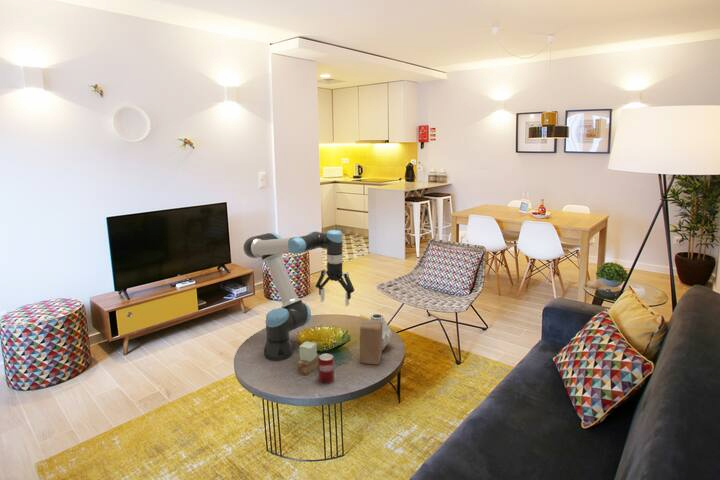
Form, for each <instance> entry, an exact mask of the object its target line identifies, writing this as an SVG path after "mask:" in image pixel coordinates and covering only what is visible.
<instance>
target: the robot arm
mask: <svg viewBox="0 0 720 480" xmlns="http://www.w3.org/2000/svg"><path fill="white" fill-rule="evenodd" d="M342 232H343V231H340V230H339V229H337V230H336V229H330V230H328V231H326V232H320V231H313V230H311V231H310V232H309V233H308V234H305V235H301V236H294V237H283V238H282V237H281V236H280V235H279V234H278V233H276V232H267V233H263V234H259V235H253V236H251V237H248V238H247V239H246V240H245V241H244V243H243V247H242V248H243V252H244V254H245V255H246V257H248V258H251V259H258V258H260V259H261V260H262V262H264V263H266V265H267V268H268V270H269V272H270V275H271V278H272V280H273V283H274V285H275V288H276V290H277V293H278V295H279V297H280V301H281V302H282V305H281V307H279V308H274V309H271V310H270V311H268V312H267V313H266V314H265V315H266V316H265V329H266V330H265V332H266V334H265V335H266V342H265V345H264V348H263V357H264V358H266V359H267V360H270V361H282V360H286V359H289V358H291V357H292V355H293V354H294V348H293V346H292V343H291V340H290V333H291V331H295V330H296V329H298V328H301V327H303V326H304V325H306V324H308V323H309V322H310V320H311V318H312V317H311V316H312V312H311V309H310V306H309V305H308V304H307V303H305V302H303V300H302V299H301V298H299V297H298V295H297V293H296V291H295V287H294V285H293V283H292V281H291V278H290V275H289V273H288V271H287V269H286V266H285V263H284V260H283V257H282V256H283V254H284V255H285V254H293V255H298V254H302V253H305V252H310V251H312V250H316V249H324V250H326V261H327V263H326V269H321V271H320V276H319V278H318V280H317V282H316V284H315V288H316V289H318V295H319V296H320V302H321V303H323V302H325V288H324V287H325V286H326V284H328V282H329V281H332V282H333V281H334V282H338V283H340V285H341V287H342V288H343V289H344V290H345V306H344V307H348V306H349V305H350V299H351V298H352V293H354V292H355V287H354V286H353V283H352V281H351V279H350V277H349V276H350V275H349V272H343V240H344V239H343V233H342ZM326 275H327V278H325V276H326ZM324 278H325V280H324ZM323 280H324V281H323Z"/></svg>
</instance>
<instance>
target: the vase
mask: <svg viewBox="0 0 720 480" xmlns="http://www.w3.org/2000/svg"><path fill="white" fill-rule="evenodd" d="M368 320H371V321H381V322H382V351H384V349H385V348H386V346H387V345H388V343H389V342H390V339H391V337H392V336H393V333H392V330H391V328H389V326H388V323H387V321H386V320H385V318H384V315H382V314H380V313H375V314H374V313H373V314H371V316H370V317H369V319H368Z"/></svg>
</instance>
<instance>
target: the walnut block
mask: <svg viewBox="0 0 720 480" xmlns="http://www.w3.org/2000/svg"><path fill="white" fill-rule="evenodd" d="M319 356H320V353H317V357H316V358H314V359H313V360H312V361H311V362H309V361H305V360H301V359H299V361H298V362H297V374H299V375H303V376H306V377H307V376H308V375H310V374H311V373H312V372H313V371H314V370H315V369H316V368H317V367H318V358H319Z"/></svg>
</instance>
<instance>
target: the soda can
mask: <svg viewBox="0 0 720 480" xmlns="http://www.w3.org/2000/svg"><path fill="white" fill-rule="evenodd" d="M317 367H318V370H317V372H318V381H319V383H321V384H324V385H327V384H331V383H333V382H334V380H335V356H334V355H333V354H330V353H322V354H321V355H320V354H319V358H318V366H317Z"/></svg>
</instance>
